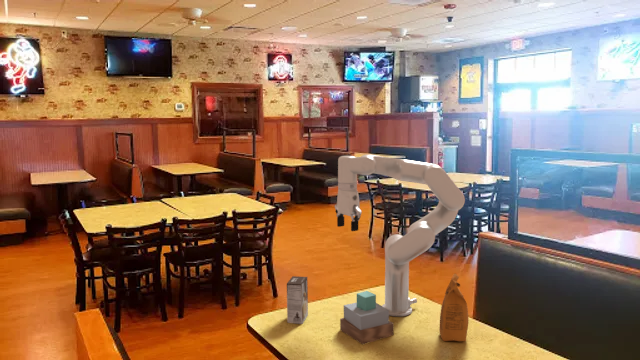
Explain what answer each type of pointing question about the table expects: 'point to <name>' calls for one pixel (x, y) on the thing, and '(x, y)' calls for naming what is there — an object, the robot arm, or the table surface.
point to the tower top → (366, 316)
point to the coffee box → (297, 300)
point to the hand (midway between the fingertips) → (347, 228)
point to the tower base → (367, 331)
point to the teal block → (366, 300)
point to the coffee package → (453, 313)
